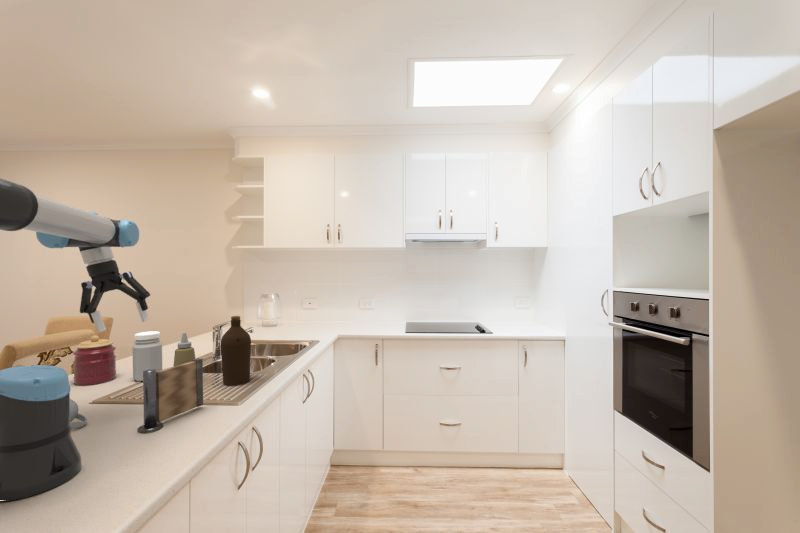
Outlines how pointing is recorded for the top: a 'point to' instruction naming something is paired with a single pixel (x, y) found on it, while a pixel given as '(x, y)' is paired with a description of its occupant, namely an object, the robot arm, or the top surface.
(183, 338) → the squeeze bottle
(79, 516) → the top surface
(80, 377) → the canister
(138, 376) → the jar
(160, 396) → the gate
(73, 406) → the ceramic mug
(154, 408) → the gate post
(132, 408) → the top surface
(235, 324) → the olive oil
